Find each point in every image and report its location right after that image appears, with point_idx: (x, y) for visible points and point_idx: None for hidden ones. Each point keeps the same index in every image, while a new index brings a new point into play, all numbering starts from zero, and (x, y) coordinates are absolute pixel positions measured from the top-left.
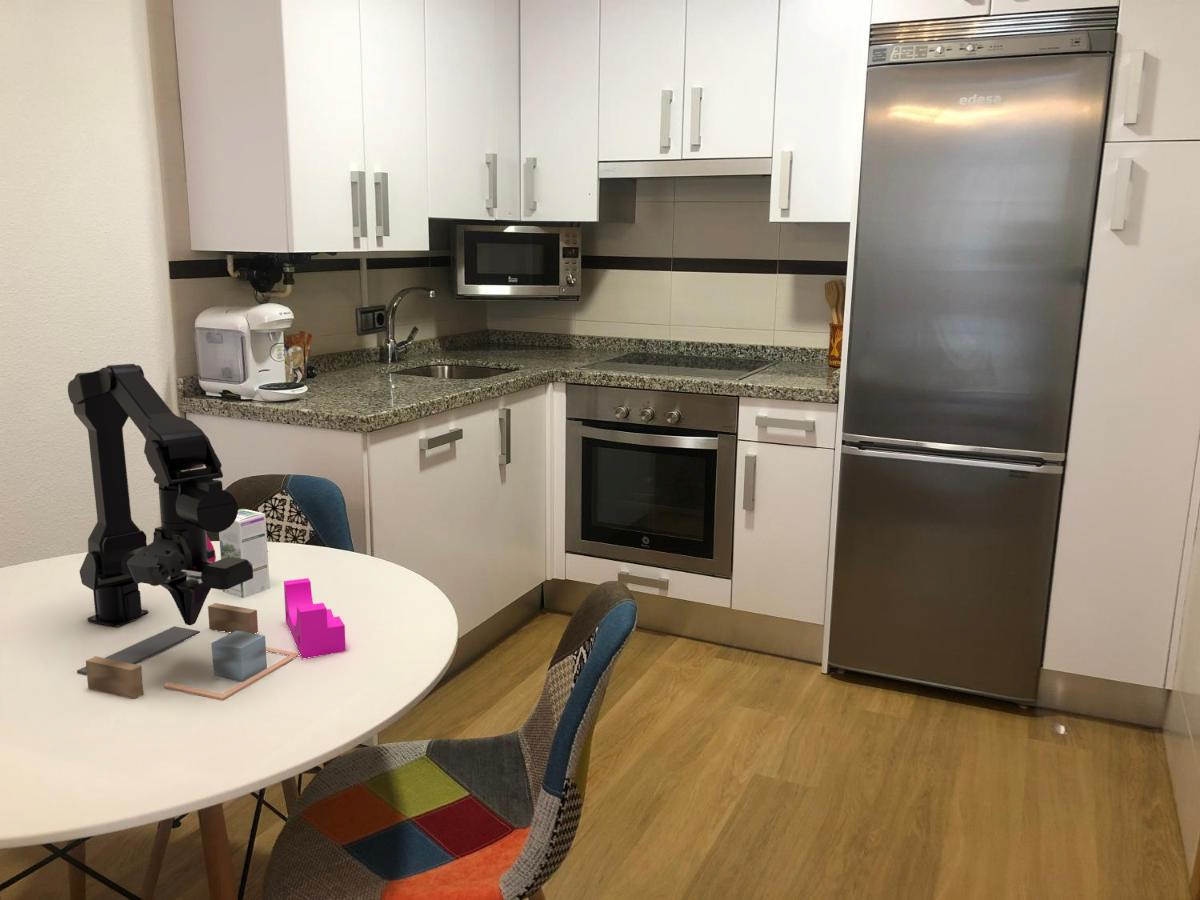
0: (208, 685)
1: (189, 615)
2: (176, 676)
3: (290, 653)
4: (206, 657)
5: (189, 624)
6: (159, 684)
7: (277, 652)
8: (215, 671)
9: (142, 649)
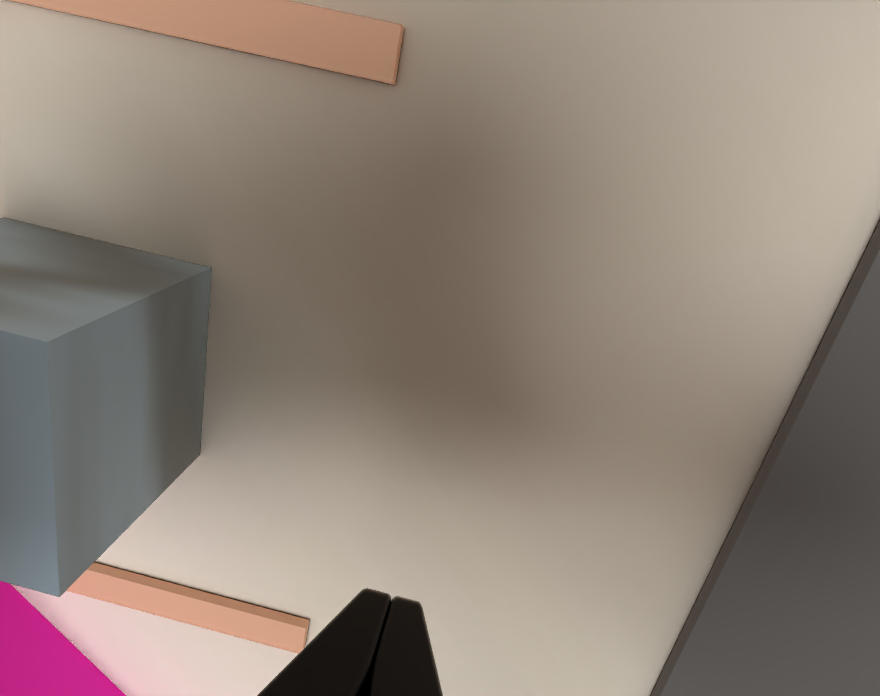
0: (151, 132)
1: (303, 664)
2: (428, 225)
3: None
4: (411, 499)
5: (368, 593)
6: (467, 77)
7: None
8: (177, 272)
9: (858, 543)
